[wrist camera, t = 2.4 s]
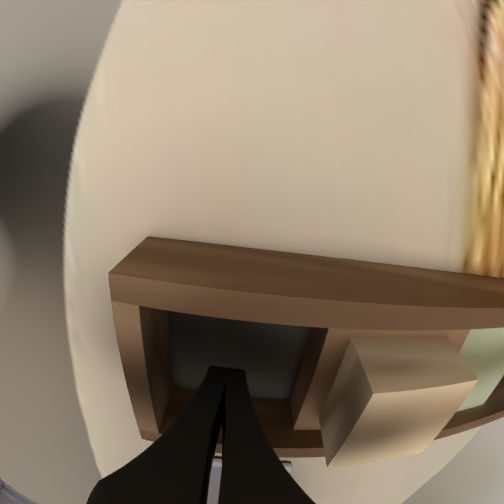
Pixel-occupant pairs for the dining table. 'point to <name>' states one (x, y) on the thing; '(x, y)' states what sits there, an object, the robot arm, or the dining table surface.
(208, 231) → the dining table surface
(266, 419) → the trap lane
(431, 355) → the maple block
